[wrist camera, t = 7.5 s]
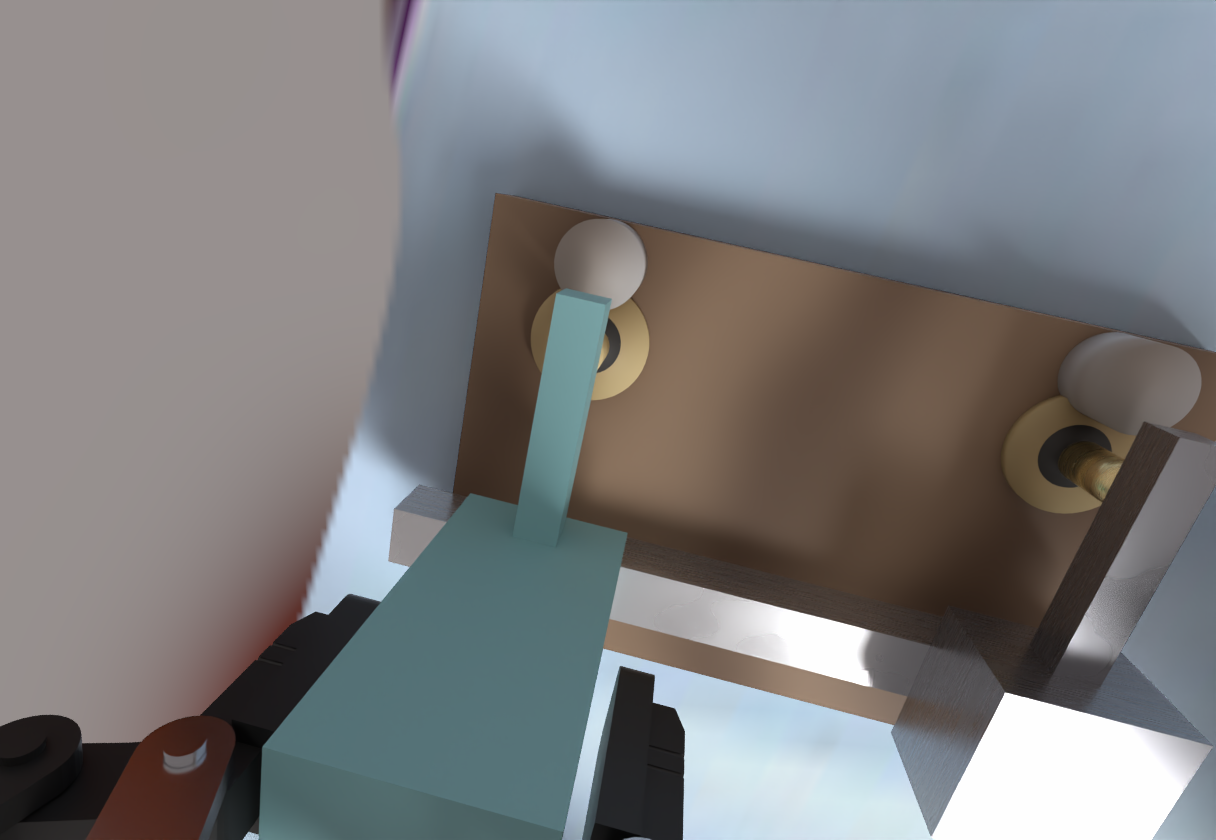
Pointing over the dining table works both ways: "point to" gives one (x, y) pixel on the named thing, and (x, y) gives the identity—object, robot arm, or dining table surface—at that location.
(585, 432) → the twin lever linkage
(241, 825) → the robot arm
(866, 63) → the dining table surface
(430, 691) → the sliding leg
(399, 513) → the trammel beam
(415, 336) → the dining table surface
